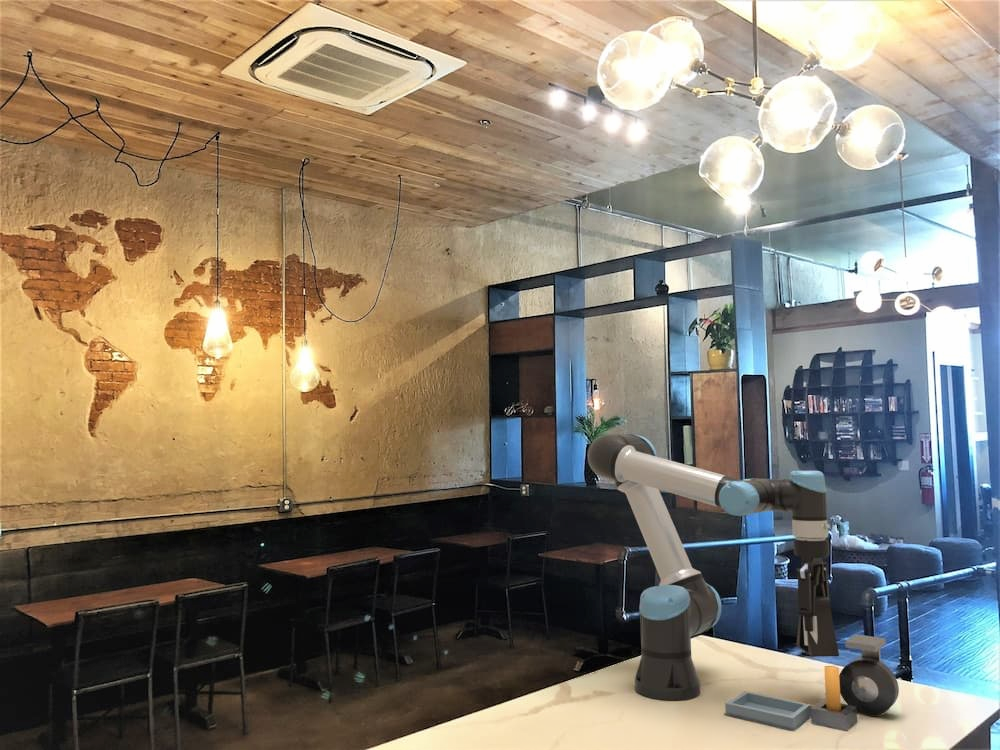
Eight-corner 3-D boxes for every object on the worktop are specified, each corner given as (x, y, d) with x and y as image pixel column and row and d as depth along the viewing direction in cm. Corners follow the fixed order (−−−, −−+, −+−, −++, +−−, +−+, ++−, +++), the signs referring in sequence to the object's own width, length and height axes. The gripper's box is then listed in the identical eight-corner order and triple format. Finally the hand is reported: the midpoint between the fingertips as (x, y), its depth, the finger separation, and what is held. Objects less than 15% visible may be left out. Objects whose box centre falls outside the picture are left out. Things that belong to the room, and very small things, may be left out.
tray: (725, 715, 162) (725, 703, 162) (745, 702, 169) (745, 691, 170) (793, 731, 152) (792, 718, 152) (811, 716, 160) (810, 704, 160)
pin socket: (811, 723, 156) (810, 708, 157) (822, 713, 162) (821, 699, 162) (847, 731, 152) (846, 715, 152) (857, 721, 157) (856, 706, 157)
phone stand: (839, 656, 165) (836, 600, 167) (811, 656, 165) (808, 600, 167) (822, 646, 174) (819, 593, 175) (796, 646, 174) (793, 593, 176)
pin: (825, 722, 157) (822, 667, 158) (829, 718, 159) (826, 665, 160) (839, 725, 155) (836, 670, 156) (843, 721, 157) (840, 667, 158)
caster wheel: (836, 712, 163) (833, 639, 164) (848, 702, 169) (844, 632, 170) (892, 723, 155) (888, 647, 157) (902, 713, 162) (898, 640, 163)
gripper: (813, 544, 163) (819, 654, 160) (841, 535, 177) (847, 636, 175) (778, 541, 168) (784, 648, 165) (808, 533, 182) (814, 632, 180)
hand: (816, 642), depth 170 cm, fingers closed on phone stand, 6 cm apart
